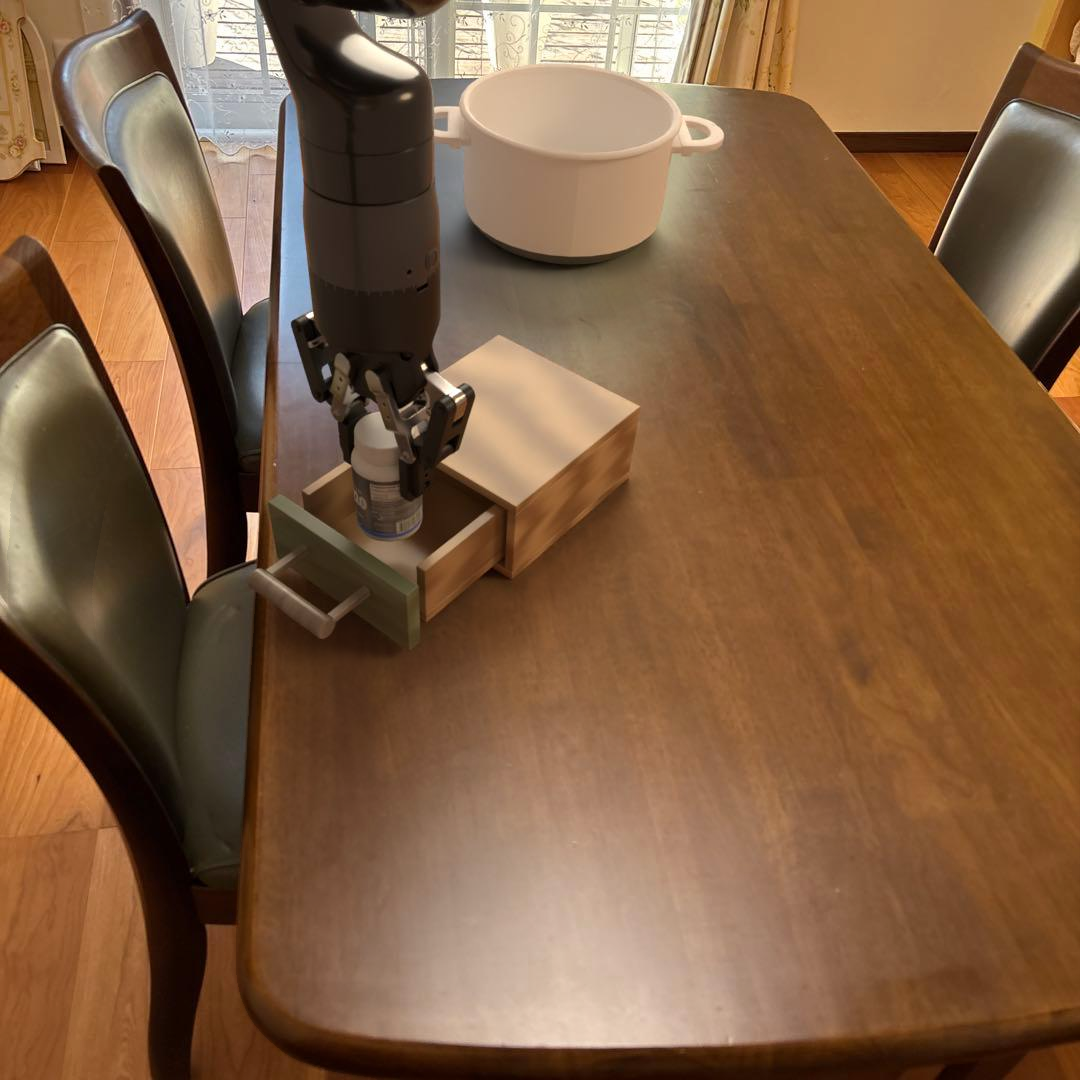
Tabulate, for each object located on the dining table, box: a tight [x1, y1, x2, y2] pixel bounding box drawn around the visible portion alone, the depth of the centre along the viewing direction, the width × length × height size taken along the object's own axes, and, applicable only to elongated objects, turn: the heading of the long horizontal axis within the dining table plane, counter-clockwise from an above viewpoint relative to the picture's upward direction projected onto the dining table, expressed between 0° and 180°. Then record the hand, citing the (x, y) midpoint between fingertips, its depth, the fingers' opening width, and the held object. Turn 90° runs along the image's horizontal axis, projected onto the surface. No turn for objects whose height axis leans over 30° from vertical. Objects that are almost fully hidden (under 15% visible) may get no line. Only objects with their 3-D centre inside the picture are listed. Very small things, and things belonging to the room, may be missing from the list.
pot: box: [434, 63, 725, 265], centre depth 111 cm, size 33×23×14 cm
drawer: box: [246, 461, 508, 652], centre depth 74 cm, size 19×13×6 cm
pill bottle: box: [351, 411, 423, 542], centre depth 70 cm, size 5×5×8 cm
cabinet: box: [398, 334, 641, 581], centre depth 82 cm, size 16×15×8 cm
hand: (387, 475), depth 70 cm, fingers closed on pill bottle, 4 cm apart
